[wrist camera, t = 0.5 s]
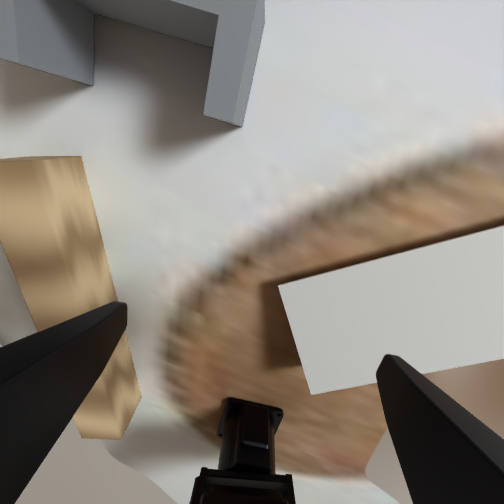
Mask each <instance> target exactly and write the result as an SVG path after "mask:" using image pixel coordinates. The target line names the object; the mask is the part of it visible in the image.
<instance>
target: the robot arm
mask: <svg viewBox="0 0 504 504" xmlns="http://www.w3.org/2000/svg"><path fill="white" fill-rule="evenodd" d="M126 326H127V304H126V303H123V302H118V301H113V302H110V303H108V304H105V305H103V306H100V307H98V308H95V309H93V310H91V311H88V312H86V313H83V314H81V315H78V316H76V317H74V318H71V319H69V320H66V321H64V322H61V323H59V324H57V325H54V326H52V327H49V328H47V329H44V330H42V331H39V332H37V333H35V334H32V335H30V336H27V337H25V338H22V339H20V340H18V341H15V342H13V343H10V344H8V345H5V346H3V347H0V504H15V502H16V501H17V499H18V498H19V496H20V495H21V493H22V492H23V490H24V489H25V487H26V486H27V484H28V483H29V481H30V480H31V478H32V477H33V475H34V474H35V472H36V471H37V469H38V468H39V466H40V465H41V463H42V462H43V460H44V459H45V457H46V456H47V454H48V453H49V451H50V450H51V448H52V447H53V445H54V444H55V443H56V441H57V439H58V438H59V437H60V435H61V434H62V432H63V431H64V429H65V427H66V426H67V425H68V423H69V422H70V420H71V419H72V417H73V416H74V414H75V413H76V411H77V410H78V408H79V407H80V405H81V404H82V402H83V401H84V399H85V398H86V396H87V395H88V393H89V392H90V390H91V389H92V387H93V386H94V384H95V383H96V381H97V380H98V378H99V377H100V375H101V374H102V372H103V371H104V369H105V367H106V365H107V363H108V361H109V360H110V358H111V356H112V354H113V352H114V350H115V348H116V346H117V344H118V343H119V341H120V339H121V337H122V335H123V333H124V331H125V329H126ZM376 380H377V384H378V389H379V393H380V397H381V402H382V406H383V410H384V415H385V419H386V422H387V426H388V429H389V432H390V435H391V438H392V441H393V444H394V447H395V450H396V453H397V456H398V459H399V462H400V465H401V468H402V471H403V474H404V477H405V480H406V483H407V486H408V490H409V492H410V496H411V499H412V501H413V504H504V439H502V438H501V437H500V436H499V435H497V434H496V433H495V432H494V431H492V430H491V429H490V428H488V427H487V426H486V425H485V424H484V423H482V422H481V421H480V420H479V419H477V418H476V417H475V416H474V415H472V414H471V413H470V412H468V411H467V410H466V409H465V408H464V407H462V406H461V405H460V404H458V403H457V402H456V401H455V400H454V399H452V398H451V397H450V396H448V395H447V394H446V393H445V392H443V391H442V390H441V389H440V388H439V387H437V386H436V385H434V384H433V383H432V382H431V381H430V380H428V379H427V378H426V377H425V376H423V375H422V374H421V373H420V372H418V371H417V370H416V369H415V368H413V367H412V366H411V365H410V364H408V363H407V362H406V361H405V360H403V359H402V358H401V357H399V356H397V355H392V354H386V355H384V357H383V359H382V361H381V363H380V365H379V367H378V369H377V371H376ZM282 418H283V410H282V409H279V408H274V407H270V406H265V405H261V404H256V403H252V402H247V401H243V400H238V399H234V398H229V399H228V400H227V402H226V405H225V408H224V412H223V415H222V418H221V421H220V424H219V428H218V431H217V436H218V437H220V438H222V443H221V450H220V457H219V464H218V470H216V469H207V468H206V467H202V468H201V472H200V476H198V477H196V478H195V482H194V487H193V492H192V496H191V500H190V503H189V504H296V503H295V496H294V488H293V481H292V475H291V474H286V475H277V474H275V445H274V435H275V433H276V431H277V429H278V427H279V424H280V422H281V420H282Z"/></svg>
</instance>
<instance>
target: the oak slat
mask: <svg viewBox="0 0 504 504" xmlns="http://www.w3.org/2000/svg"><path fill="white" fill-rule="evenodd" d="M0 242H1V244H2V246H3V249H4V251H5V254H6V256H7V259H8V261H9V263H10V266H11V268H12V271H13V273H14V275H15V278H16V280H17V283H18V285H19V288H20V290H21V292H22V295H23V297H24V300H25V302H26V304H27V307H28V309H29V312H30V314H31V317H32V319H33V321H34V324H35V326H36V329H37V331H38V332H39V331H42V330H44V329H47V328H49V327H52V326H54V325H57V324H59V323H61V322H64V321H66V320H69V319H71V318H74V317H76V316H78V315H81V314H83V313H86V312H88V311H91V310H93V309H95V308H98V307H100V306H103V305H105V304H108V303H110V302H113V301H118V300H117V296H116V292H115V289H114V285H113V281H112V277H111V273H110V269H109V265H108V261H107V257H106V253H105V249H104V245H103V241H102V237H101V233H100V229H99V225H98V221H97V217H96V213H95V209H94V205H93V201H92V197H91V193H90V189H89V185H88V181H87V177H86V173H85V169H84V165H83V161H82V157H81V156H36V157H19V158H7V159H0ZM141 397H142V396H141V392H140V388H139V384H138V380H137V376H136V372H135V368H134V364H133V360H132V356H131V352H130V348H129V344H128V340H127V336H126V332H125V331H124V333H123V335H122V337H121V339H120V341H119V343H118V344H117V346H116V348H115V350H114V352H113V354H112V356H111V358H110V360H109V361H108V363H107V365H106V367H105V369H104V371H103V372H102V374H101V375H100V377H99V378H98V380H97V381H96V383H95V384H94V386H93V387H92V389H91V390H90V392H89V393H88V395H87V396H86V398H85V399H84V401H83V402H82V404H81V405H80V407H79V408H78V410H77V411H76V413H75V414H74V416H73V418H74V421H75V423H76V425H77V428H78V430H79V433H80V435H81V437H82V438H92V439H114V440H121V439H122V437H123V435H124V433H125V431H126V429H127V427H128V424H129V422H130V420H131V418H132V416H133V414H134V412H135V410H136V408H137V406H138V404H139V401H140V399H141Z"/></svg>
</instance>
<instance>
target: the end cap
mask: <svg viewBox="0 0 504 504" xmlns="http://www.w3.org/2000/svg"><path fill="white" fill-rule="evenodd" d="M94 13H95V14H98V15H102V16H105V17H108V18H112V19H115V20H119V21H122V22H126V23H129V24H132V25H136V26H139V27H143V28H146V29H149V30H153V31H156V32H160V33H163V34H167V35H170V36H173V37H177V38H180V39H184V40H187V41H190V42H194V43H197V44H201V45H204V46H208V47H211V48H214V49H213V55H212V61H211V68H210V74H209V80H208V87H207V93H206V99H205V106H204V112H203V115H205V116H208V117H211V118H214V119H216V120H219V121H222V122H226V123H229V124H233V125H237V126H240V127H242V126H243V121H244V117H245V112H246V107H247V103H248V98H249V94H250V89H251V84H252V80H253V75H254V70H255V66H256V61H257V56H258V52H259V47H260V42H261V38H262V33H263V29H264V24H265V4H264V0H0V59H3V60H7V61H10V62H14V63H17V64H20V65H24V66H27V67H31V68H34V69H37V70H41V71H44V72H47V73H51V74H54V75H58V76H61V77H64V78H68V79H71V80H75V81H78V82H82V83H85V84H89V85H93V86H94Z"/></svg>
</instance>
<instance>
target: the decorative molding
mask: <svg viewBox="0 0 504 504" xmlns="http://www.w3.org/2000/svg"><path fill="white" fill-rule="evenodd" d="M278 288H279V291H280V294H281V297H282V301H283V304H284V307H285V311H286V314H287V317H288V320H289V324H290V327H291V330H292V333H293V337H294V340H295V343H296V347H297V350H298V353H299V356H300V360H301V363H302V366H303V370H304V373H305V376H306V379H307V383H308V386H309V389H310V392H311V395H313V394H319V393H324V392H329V391H334V390H340V389H345V388H350V387H356V386H361V385H366V384H372V383H377V380H376V371H377V369H378V367H379V365H380V363H381V361H382V359H383V357H384V355H386V354H392V355H397V356H399V357H401V358H402V359H403V360H405V361H406V362H407V363H408V364H410V365H411V366H412V367H413V368H415V369H416V370H417V371H418V372H420V373H421V374H424V373H430V372H435V371H440V370H446V369H451V368H456V367H461V366H467V365H472V364H477V363H483V362H487V361H493V360H498V359H504V225H501V226H497V227H493V228H490V229H486V230H482V231H478V232H475V233H471V234H467V235H463V236H460V237H456V238H452V239H448V240H445V241H441V242H437V243H433V244H429V245H426V246H422V247H418V248H414V249H411V250H407V251H403V252H399V253H396V254H392V255H388V256H384V257H381V258H377V259H373V260H369V261H366V262H362V263H358V264H354V265H350V266H347V267H343V268H339V269H335V270H332V271H328V272H324V273H320V274H317V275H313V276H309V277H305V278H302V279H298V280H294V281H290V282H287V283H283V284H280V285H278Z"/></svg>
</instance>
